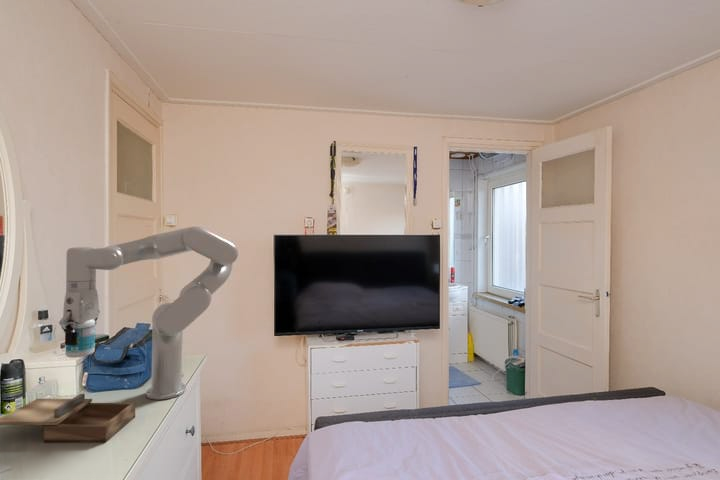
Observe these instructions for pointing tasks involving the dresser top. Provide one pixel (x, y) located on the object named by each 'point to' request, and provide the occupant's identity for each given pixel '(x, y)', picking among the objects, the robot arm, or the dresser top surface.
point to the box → (91, 424)
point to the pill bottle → (83, 340)
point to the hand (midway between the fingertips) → (80, 340)
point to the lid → (45, 411)
